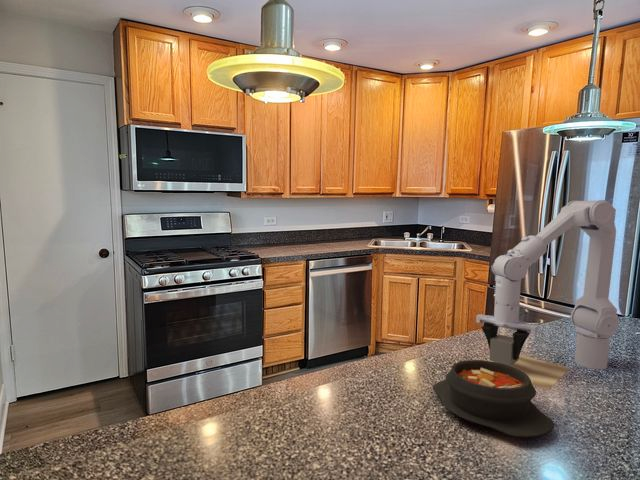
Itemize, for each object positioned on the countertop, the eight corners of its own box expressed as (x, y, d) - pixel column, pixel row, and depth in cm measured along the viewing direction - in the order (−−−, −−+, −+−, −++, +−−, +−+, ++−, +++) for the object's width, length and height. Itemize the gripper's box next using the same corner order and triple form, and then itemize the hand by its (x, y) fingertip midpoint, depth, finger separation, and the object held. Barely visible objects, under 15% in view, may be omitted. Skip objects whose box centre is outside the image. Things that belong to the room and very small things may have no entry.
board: (503, 353, 119) (503, 350, 119) (570, 370, 107) (570, 367, 107) (475, 371, 106) (475, 368, 106) (548, 392, 95) (548, 389, 94)
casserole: (576, 432, 78) (579, 389, 77) (507, 458, 70) (509, 410, 69) (474, 381, 100) (475, 347, 100) (412, 395, 92) (413, 359, 92)
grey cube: (497, 355, 110) (498, 334, 109) (518, 360, 106) (519, 339, 106) (489, 360, 106) (490, 338, 106) (510, 366, 102) (511, 343, 102)
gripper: (472, 300, 107) (469, 352, 108) (532, 311, 97) (529, 368, 98) (483, 296, 112) (481, 345, 113) (542, 306, 102) (538, 360, 103)
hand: (504, 355), depth 106 cm, fingers closed on grey cube, 5 cm apart
